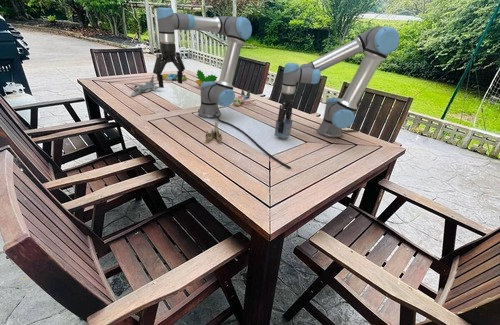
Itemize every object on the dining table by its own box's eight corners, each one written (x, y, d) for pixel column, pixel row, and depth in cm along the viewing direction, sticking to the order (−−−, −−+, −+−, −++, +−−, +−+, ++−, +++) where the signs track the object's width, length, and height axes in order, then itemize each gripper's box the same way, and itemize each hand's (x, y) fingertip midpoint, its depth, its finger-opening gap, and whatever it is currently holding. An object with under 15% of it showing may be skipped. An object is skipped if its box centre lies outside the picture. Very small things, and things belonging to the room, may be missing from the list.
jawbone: (224, 125, 157) (223, 115, 148) (222, 147, 150) (221, 138, 141) (208, 125, 157) (206, 115, 148) (206, 147, 150) (204, 138, 141)
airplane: (124, 86, 238) (122, 75, 233) (160, 84, 251) (158, 74, 246) (129, 99, 209) (126, 86, 204) (168, 96, 223) (167, 84, 217)
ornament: (212, 91, 261) (216, 76, 260) (214, 91, 254) (218, 75, 252) (192, 84, 253) (195, 69, 251) (193, 84, 245) (197, 68, 244)
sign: (185, 79, 272) (155, 78, 269) (185, 81, 272) (155, 79, 270) (188, 74, 294) (161, 73, 291) (188, 76, 294) (161, 74, 292)
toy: (261, 91, 228) (254, 99, 202) (261, 99, 231) (253, 108, 205) (231, 87, 233) (220, 95, 207) (230, 95, 236) (219, 104, 210)
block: (279, 131, 162) (281, 117, 158) (290, 134, 159) (292, 120, 154) (274, 135, 157) (276, 120, 152) (285, 138, 154) (287, 123, 149)
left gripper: (180, 41, 143) (182, 80, 154) (141, 42, 125) (147, 87, 135) (190, 42, 140) (192, 82, 150) (152, 44, 121) (157, 90, 132)
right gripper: (289, 88, 155) (284, 124, 166) (274, 94, 140) (269, 134, 151) (301, 90, 151) (295, 127, 162) (286, 97, 136) (281, 137, 147)
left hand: (171, 85), depth 143 cm, fingers open, 13 cm apart
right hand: (283, 130), depth 157 cm, fingers closed on block, 7 cm apart
